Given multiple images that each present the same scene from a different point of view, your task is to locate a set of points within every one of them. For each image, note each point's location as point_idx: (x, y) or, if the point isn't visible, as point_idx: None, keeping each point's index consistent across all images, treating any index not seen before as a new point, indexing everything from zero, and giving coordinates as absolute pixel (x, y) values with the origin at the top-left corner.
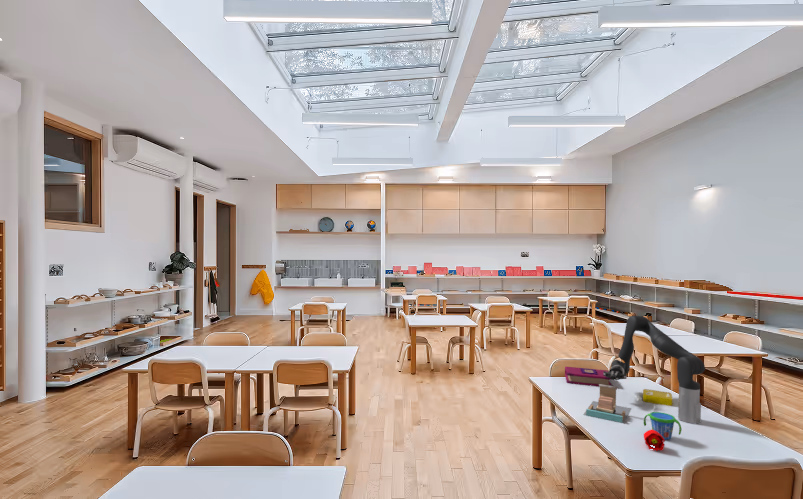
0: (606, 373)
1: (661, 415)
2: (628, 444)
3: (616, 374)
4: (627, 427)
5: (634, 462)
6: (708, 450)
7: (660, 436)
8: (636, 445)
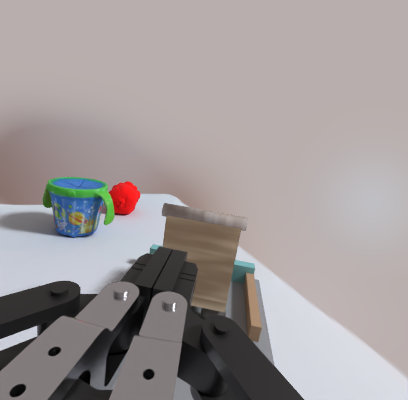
0: (272, 378)
1: (73, 188)
2: (160, 215)
3: (94, 306)
4: (142, 251)
5: (163, 198)
6: (12, 210)
7: (117, 185)
8: (148, 214)
